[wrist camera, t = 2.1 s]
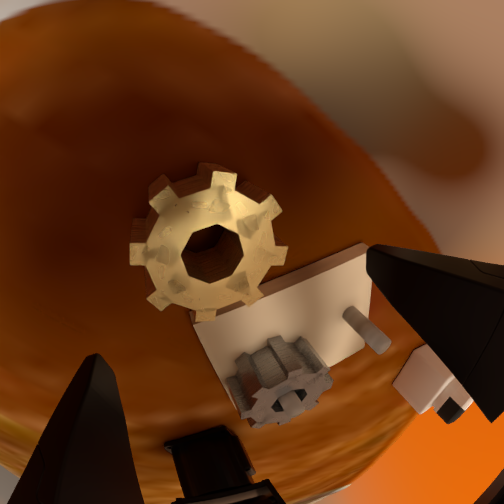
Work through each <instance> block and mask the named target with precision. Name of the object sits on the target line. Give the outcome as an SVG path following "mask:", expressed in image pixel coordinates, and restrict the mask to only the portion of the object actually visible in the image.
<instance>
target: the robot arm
mask: <svg viewBox="0 0 504 504" xmlns="http://www.w3.org/2000/svg"><path fill="white" fill-rule="evenodd" d="M366 272H367V274H368V276H369V277H370V278H371V280H372V281H373V282H374V283H375V285H376V286H377V287H378V288H379V290H380V291H381V292H382V293H383V295H384V296H385V297H386V299H387V300H388V301H389V302H390V304H391V305H392V306H393V307H394V308H395V309H396V311H397V312H398V313H399V314H400V315H401V316H402V317H403V318H404V319H405V320H406V321H407V322H408V323H409V325H410V326H411V327H412V328H413V329H414V330H415V331H416V332H417V333H418V335H419V336H420V337H421V338H422V339H423V340H424V341H425V342H426V343H427V345H428V346H429V347H430V348H431V349H432V350H433V352H434V353H435V354H436V355H437V356H438V357H439V358H440V360H441V361H442V362H443V363H444V364H445V366H446V367H447V368H448V369H449V370H450V372H451V373H452V374H453V375H454V376H455V378H456V379H457V380H458V381H459V383H460V384H461V385H462V386H463V388H464V389H465V390H466V392H467V393H468V394H469V395H470V397H471V398H472V399H473V400H474V402H475V403H476V404H477V406H478V407H479V408H480V410H481V411H482V412H483V414H484V415H485V416H486V418H487V419H488V420H489V421H490V422H491V423H492V422H493V421H494V420H496V419H497V417H499V415H501V414H502V413H503V412H504V265H498V264H491V263H485V262H479V261H474V260H468V259H463V258H458V257H452V256H447V255H441V254H435V253H429V252H424V251H418V250H412V249H406V248H400V247H393V246H387V245H381V244H375V245H373V246H371V247H369V248H368V249H367V251H366ZM164 449H165V450H167V451H168V452H170V453H171V454H172V456H173V460H174V463H175V467H176V471H177V474H178V478H179V481H180V484H181V487H182V491H183V494H184V497H185V498H176V501H175V502H172V503H171V504H286V503H285V502H284V500H283V499H282V498H281V496H280V495H279V493H278V492H277V491H276V489H275V488H274V486H273V485H272V483H271V482H270V480H269V479H265V480H262V481H261V482H258V483H254V481H253V479H252V475H255V473H256V471H255V469H254V467H253V465H252V463H251V461H250V458H249V456H248V454H247V452H246V450H245V447H244V445H243V443H242V442H241V440H240V439H239V438H238V436H236V435H232V434H231V432H230V431H229V430H228V428H227V427H226V426H221V427H218V428H215V429H212V430H209V431H206V432H203V433H199V434H196V435H193V436H189V437H186V438H183V439H179V440H175V441H171V442H168V443H165V444H164ZM7 504H144V500H143V497H142V494H141V490H140V486H139V483H138V479H137V475H136V471H135V466H134V462H133V458H132V453H131V448H130V443H129V437H128V432H127V426H126V420H125V416H124V412H123V408H122V404H121V400H120V396H119V391H118V387H117V382H116V377H115V374H114V372H113V370H112V369H111V368H110V366H109V365H108V364H107V363H106V361H105V360H104V359H103V358H102V356H101V355H100V354H98V353H95V354H92V355H89V356H87V357H86V358H85V359H84V361H83V363H82V364H81V366H80V368H79V369H78V371H77V372H76V374H75V376H74V377H73V379H72V381H71V383H70V384H69V386H68V388H67V389H66V391H65V393H64V395H63V396H62V398H61V400H60V402H59V403H58V405H57V407H56V409H55V411H54V413H53V414H52V416H51V418H50V420H49V422H48V424H47V426H46V428H45V430H44V432H43V434H42V436H41V437H40V440H39V442H38V444H37V446H36V448H35V450H34V452H33V454H32V456H31V458H30V460H29V462H28V464H27V466H26V468H25V470H24V472H23V474H22V476H21V478H20V480H19V482H18V483H17V485H16V487H15V489H14V491H13V493H12V495H11V497H10V499H9V501H8V503H7ZM474 504H504V469H503V470H502V471H501V472H500V474H499V475H498V476H497V478H496V479H495V480H494V481H493V482H492V484H491V485H490V486H489V487H488V488H487V489H486V491H485V492H484V493H483V494H482V495H481V496H480V497H479V498H478V499H477V500H476V501H475V502H474Z"/></svg>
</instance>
